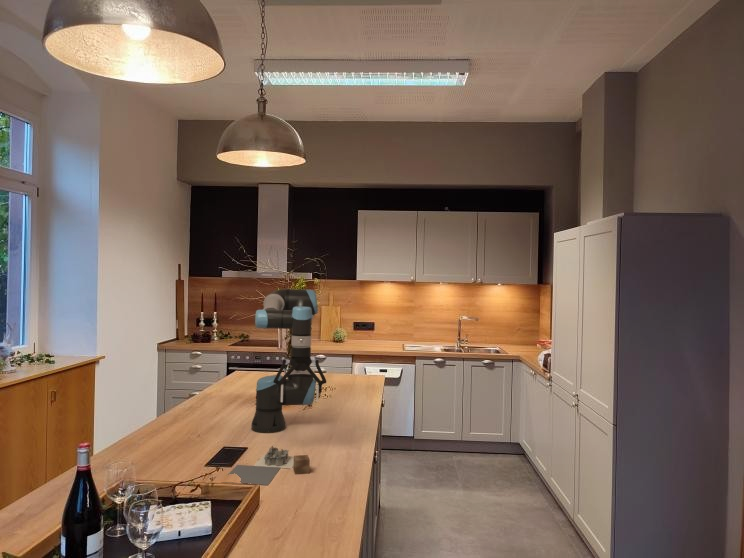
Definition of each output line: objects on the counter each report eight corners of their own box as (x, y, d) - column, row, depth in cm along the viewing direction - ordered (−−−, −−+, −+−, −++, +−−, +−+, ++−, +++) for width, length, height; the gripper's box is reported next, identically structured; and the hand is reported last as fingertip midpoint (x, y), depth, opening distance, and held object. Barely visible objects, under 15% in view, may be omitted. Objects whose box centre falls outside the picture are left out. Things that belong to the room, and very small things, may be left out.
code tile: (253, 466, 190) (253, 465, 190) (263, 455, 202) (263, 454, 202) (291, 468, 189) (291, 468, 189) (299, 457, 201) (299, 456, 201)
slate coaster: (220, 482, 175) (220, 481, 175) (237, 465, 191) (237, 464, 191) (267, 485, 173) (267, 484, 173) (280, 467, 189) (280, 467, 189)
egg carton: (271, 455, 201) (272, 445, 201) (290, 457, 200) (291, 446, 200) (261, 465, 191) (262, 453, 191) (281, 466, 190) (282, 455, 190)
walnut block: (295, 474, 184) (295, 460, 184) (293, 469, 188) (293, 455, 188) (309, 473, 185) (309, 459, 185) (307, 468, 190) (307, 454, 190)
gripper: (267, 347, 199) (265, 403, 199) (333, 348, 202) (332, 403, 201) (269, 345, 206) (267, 399, 206) (333, 345, 209) (331, 399, 209)
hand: (299, 401), depth 204 cm, fingers open, 13 cm apart
